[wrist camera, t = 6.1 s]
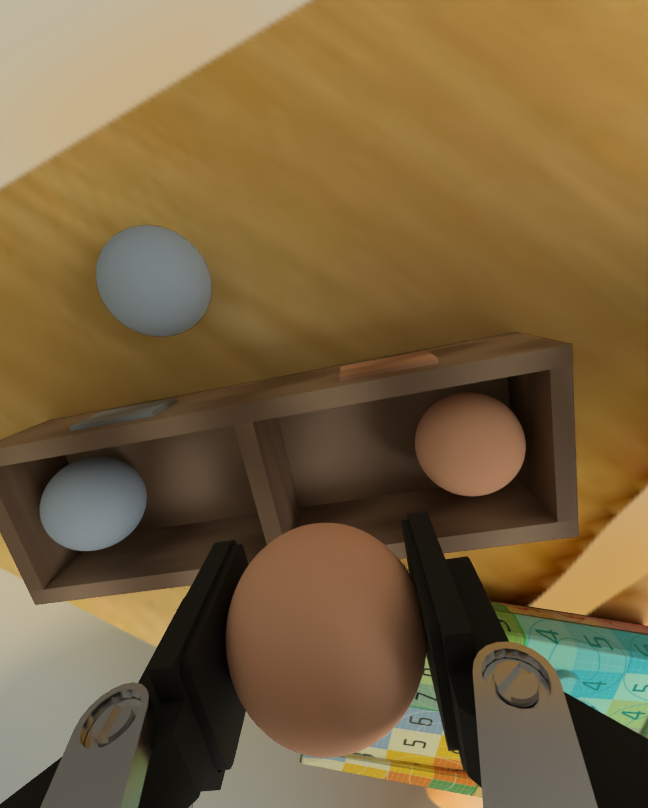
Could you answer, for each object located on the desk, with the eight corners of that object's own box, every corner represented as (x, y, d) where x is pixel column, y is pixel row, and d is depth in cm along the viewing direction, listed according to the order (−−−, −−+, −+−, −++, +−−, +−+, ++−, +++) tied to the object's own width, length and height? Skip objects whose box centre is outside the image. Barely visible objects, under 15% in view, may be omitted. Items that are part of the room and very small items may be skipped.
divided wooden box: (515, 327, 18) (571, 338, 14) (527, 482, 20) (578, 536, 16) (45, 417, 21) (-39, 450, 17) (97, 544, 23) (35, 604, 19)
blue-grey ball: (147, 436, 20) (91, 474, 16) (173, 510, 22) (127, 566, 17) (70, 450, 21) (-4, 490, 17) (99, 522, 22) (37, 578, 18)
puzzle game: (655, 844, 21) (297, 781, 22) (601, 747, 26) (306, 697, 26) (747, 685, 18) (324, 617, 18) (667, 606, 22) (329, 554, 23)
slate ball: (210, 224, 18) (165, 201, 14) (236, 321, 19) (201, 329, 15) (121, 246, 18) (49, 230, 14) (151, 339, 20) (93, 352, 15)
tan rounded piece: (497, 374, 18) (544, 398, 14) (504, 461, 20) (549, 508, 15) (401, 391, 19) (417, 420, 14) (414, 474, 20) (432, 524, 16)
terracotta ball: (396, 477, 10) (434, 610, 6) (418, 613, 12) (464, 810, 7) (235, 503, 11) (159, 644, 6) (272, 631, 12) (230, 826, 8)
